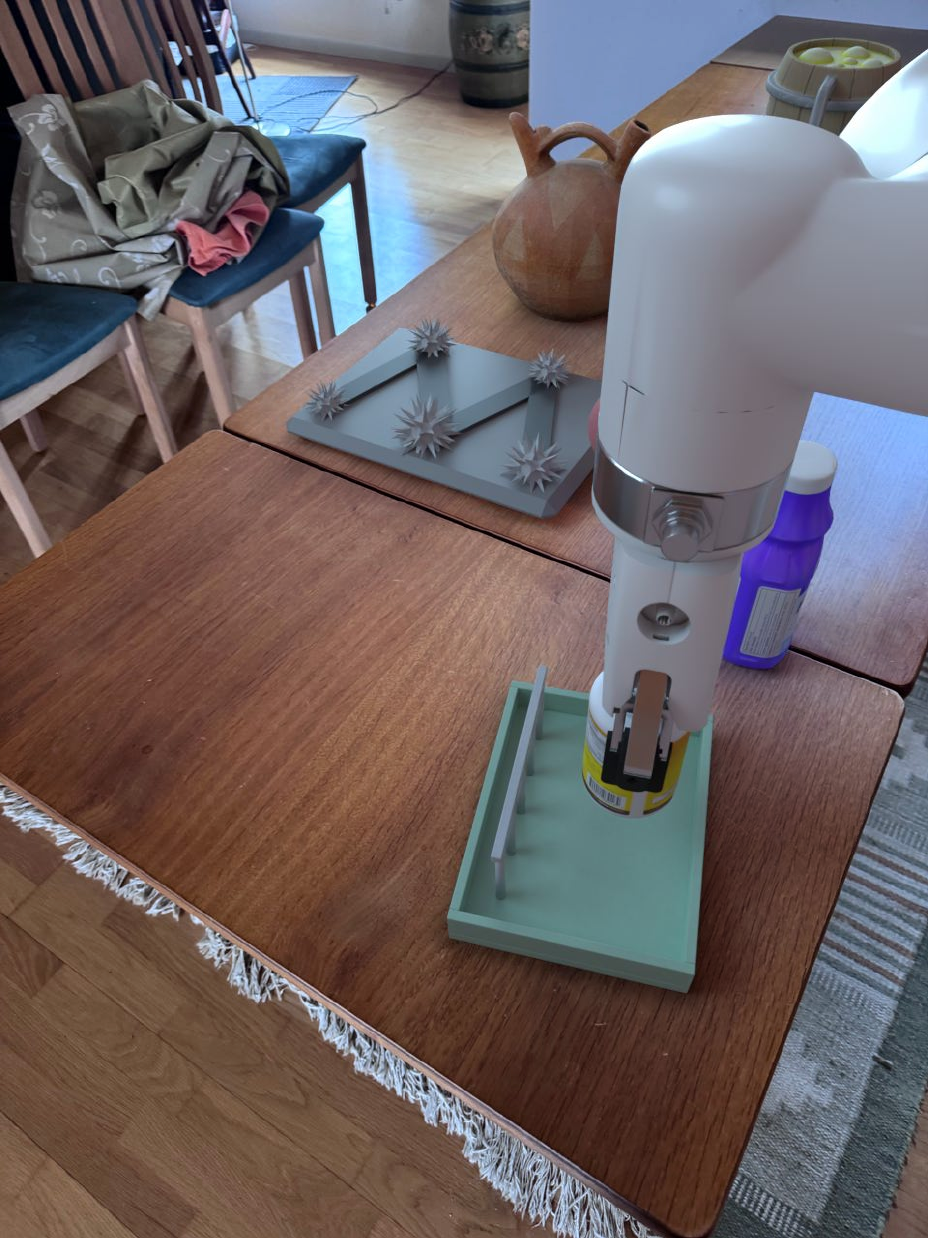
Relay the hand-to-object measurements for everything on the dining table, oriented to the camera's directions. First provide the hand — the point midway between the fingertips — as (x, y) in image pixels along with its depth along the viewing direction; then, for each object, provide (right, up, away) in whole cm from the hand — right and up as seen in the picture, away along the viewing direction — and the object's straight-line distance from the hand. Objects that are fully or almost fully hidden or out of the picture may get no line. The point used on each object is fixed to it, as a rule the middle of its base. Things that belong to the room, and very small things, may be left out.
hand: (638, 733), depth 48 cm
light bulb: (+5, +16, +31) cm, 35 cm away
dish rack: (-1, -8, +9) cm, 12 cm away
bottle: (+12, +4, +19) cm, 23 cm away
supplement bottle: (0, -3, +4) cm, 5 cm away
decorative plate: (-9, +26, +40) cm, 49 cm away
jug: (+3, +45, +57) cm, 73 cm away
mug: (+41, +71, +80) cm, 115 cm away
